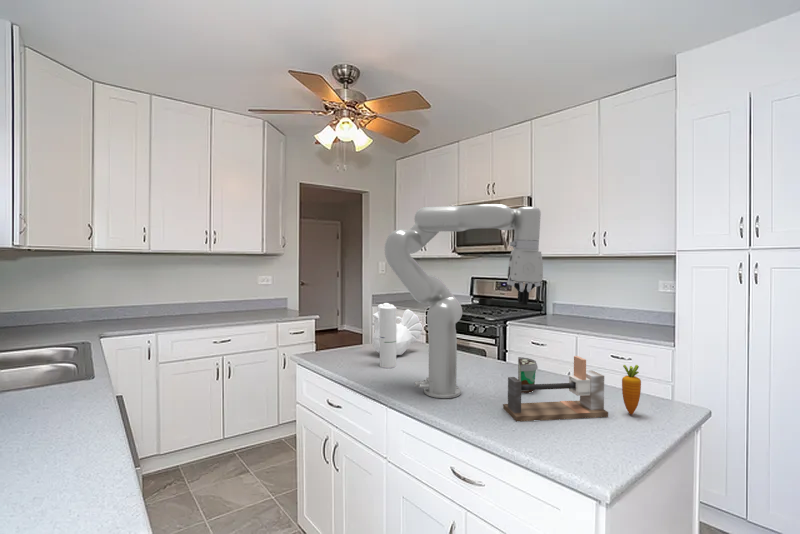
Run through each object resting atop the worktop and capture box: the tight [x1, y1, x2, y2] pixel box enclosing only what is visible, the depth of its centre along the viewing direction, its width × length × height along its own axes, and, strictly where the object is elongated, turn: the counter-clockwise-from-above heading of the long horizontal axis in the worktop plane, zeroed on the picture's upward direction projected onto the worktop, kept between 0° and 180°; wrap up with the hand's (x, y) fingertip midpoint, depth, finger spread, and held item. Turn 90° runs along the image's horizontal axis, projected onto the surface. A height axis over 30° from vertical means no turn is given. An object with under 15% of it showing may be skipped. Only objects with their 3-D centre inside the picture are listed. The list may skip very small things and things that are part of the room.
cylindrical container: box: [379, 306, 398, 369], centre depth 176 cm, size 7×7×25 cm
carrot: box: [621, 364, 642, 416], centre depth 122 cm, size 5×5×15 cm
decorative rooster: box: [372, 302, 423, 356], centre depth 197 cm, size 25×16×25 cm, turn 102°
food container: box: [517, 356, 539, 394], centre depth 145 cm, size 12×6×10 cm, turn 168°
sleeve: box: [568, 355, 590, 397], centre depth 124 cm, size 4×5×11 cm
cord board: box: [502, 370, 609, 423], centre depth 123 cm, size 28×10×12 cm, turn 97°
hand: (522, 304), depth 131 cm, fingers closed
